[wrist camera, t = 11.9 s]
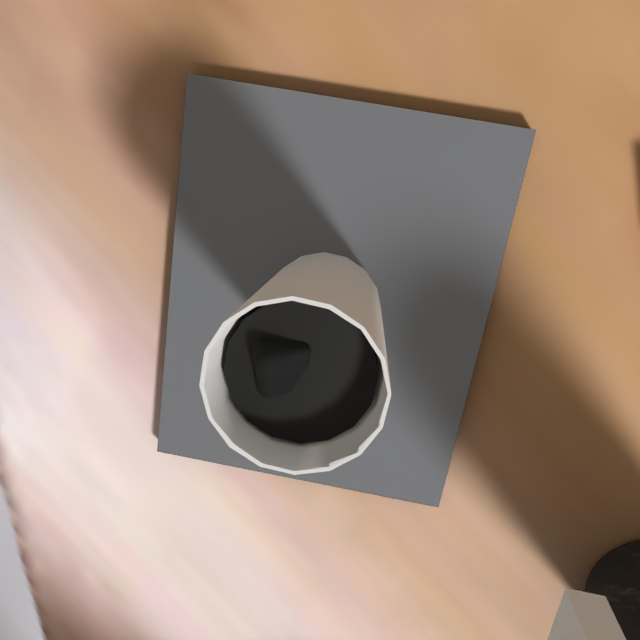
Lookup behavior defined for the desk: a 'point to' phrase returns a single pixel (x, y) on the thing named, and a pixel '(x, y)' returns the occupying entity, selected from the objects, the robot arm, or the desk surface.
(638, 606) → the travel mug
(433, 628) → the desk surface
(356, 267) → the white coffee cup
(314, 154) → the charcoal mat
